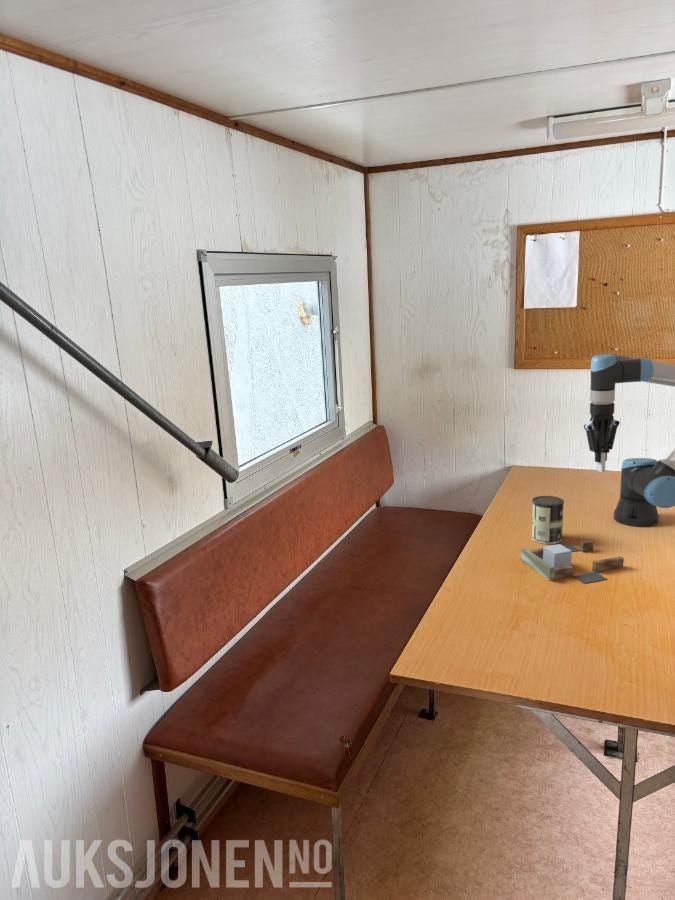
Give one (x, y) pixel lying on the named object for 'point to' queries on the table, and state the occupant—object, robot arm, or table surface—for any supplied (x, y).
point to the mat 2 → (589, 577)
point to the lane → (548, 571)
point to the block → (557, 555)
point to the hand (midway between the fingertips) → (600, 470)
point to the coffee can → (547, 519)
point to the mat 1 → (571, 547)
